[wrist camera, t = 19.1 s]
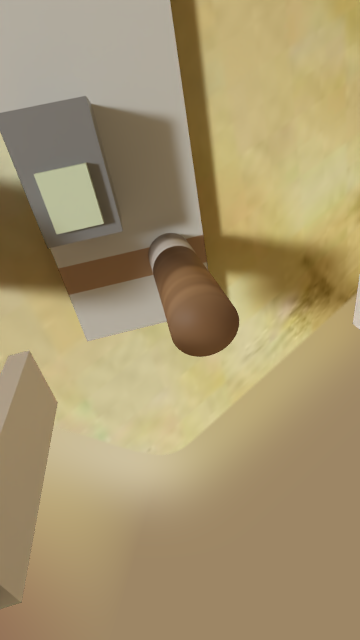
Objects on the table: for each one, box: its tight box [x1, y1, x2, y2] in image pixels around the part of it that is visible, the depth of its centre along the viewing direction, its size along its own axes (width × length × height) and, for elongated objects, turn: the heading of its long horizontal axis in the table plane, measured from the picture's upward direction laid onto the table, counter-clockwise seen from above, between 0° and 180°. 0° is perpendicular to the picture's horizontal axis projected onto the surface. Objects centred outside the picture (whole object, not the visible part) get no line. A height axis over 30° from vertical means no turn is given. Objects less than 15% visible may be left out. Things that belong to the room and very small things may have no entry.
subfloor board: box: [0, 0, 208, 341], centre depth 19 cm, size 25×10×2 cm, turn 10°
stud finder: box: [0, 96, 123, 248], centre depth 17 cm, size 6×4×4 cm, turn 10°
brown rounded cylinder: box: [148, 233, 239, 357], centre depth 18 cm, size 3×3×10 cm
